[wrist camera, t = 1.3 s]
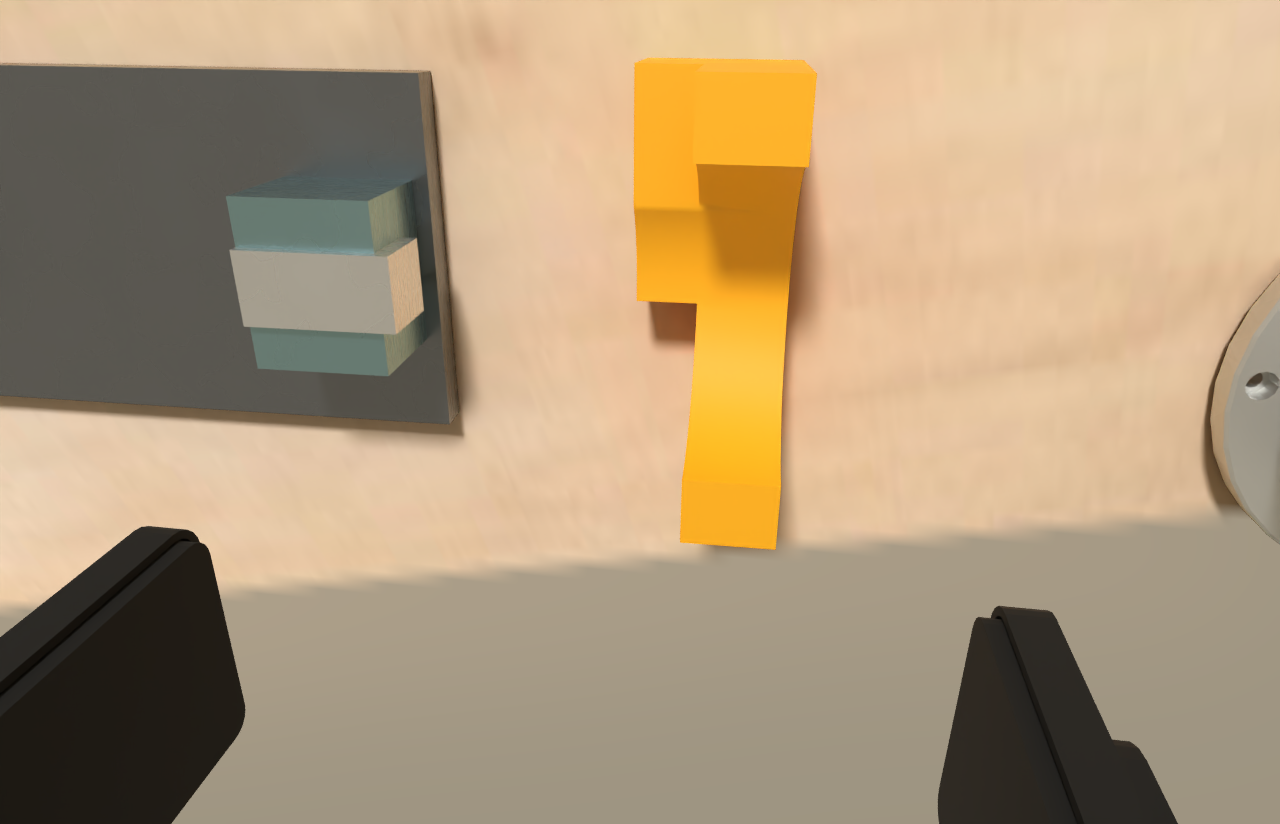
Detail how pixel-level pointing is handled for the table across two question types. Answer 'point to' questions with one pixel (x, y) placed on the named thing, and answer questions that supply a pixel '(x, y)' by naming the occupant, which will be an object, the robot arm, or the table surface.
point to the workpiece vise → (224, 240)
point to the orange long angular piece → (724, 266)
